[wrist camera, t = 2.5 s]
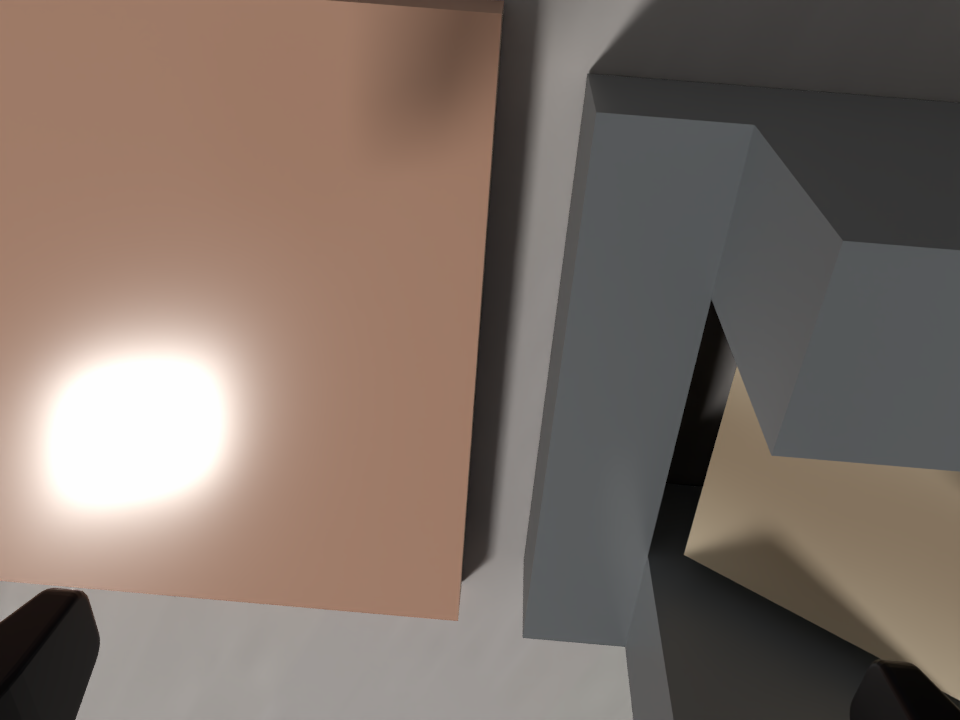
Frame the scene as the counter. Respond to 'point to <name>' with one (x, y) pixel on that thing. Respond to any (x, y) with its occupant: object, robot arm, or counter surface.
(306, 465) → the terracotta tile
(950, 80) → the counter surface
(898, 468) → the maple bar
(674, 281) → the grey hollow block
